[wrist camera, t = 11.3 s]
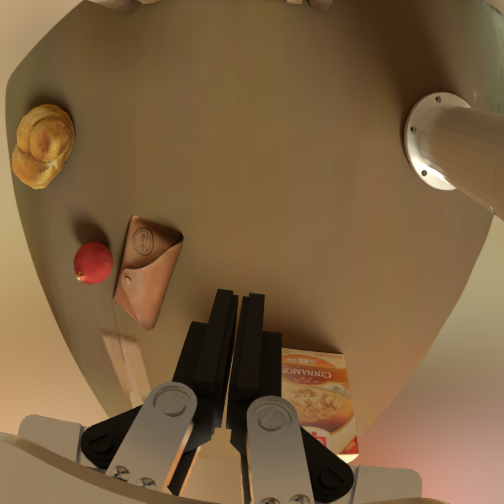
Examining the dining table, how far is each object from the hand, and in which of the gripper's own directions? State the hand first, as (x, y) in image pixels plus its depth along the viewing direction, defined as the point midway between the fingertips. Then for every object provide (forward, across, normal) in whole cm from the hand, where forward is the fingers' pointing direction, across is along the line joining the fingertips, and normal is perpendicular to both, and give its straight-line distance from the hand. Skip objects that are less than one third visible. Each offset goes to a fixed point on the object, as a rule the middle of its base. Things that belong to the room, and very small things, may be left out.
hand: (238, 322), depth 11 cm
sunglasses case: (+26, +16, +17) cm, 35 cm away
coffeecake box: (+25, -10, +32) cm, 42 cm away
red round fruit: (+25, +22, +14) cm, 36 cm away
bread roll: (+25, +30, -2) cm, 39 cm away
